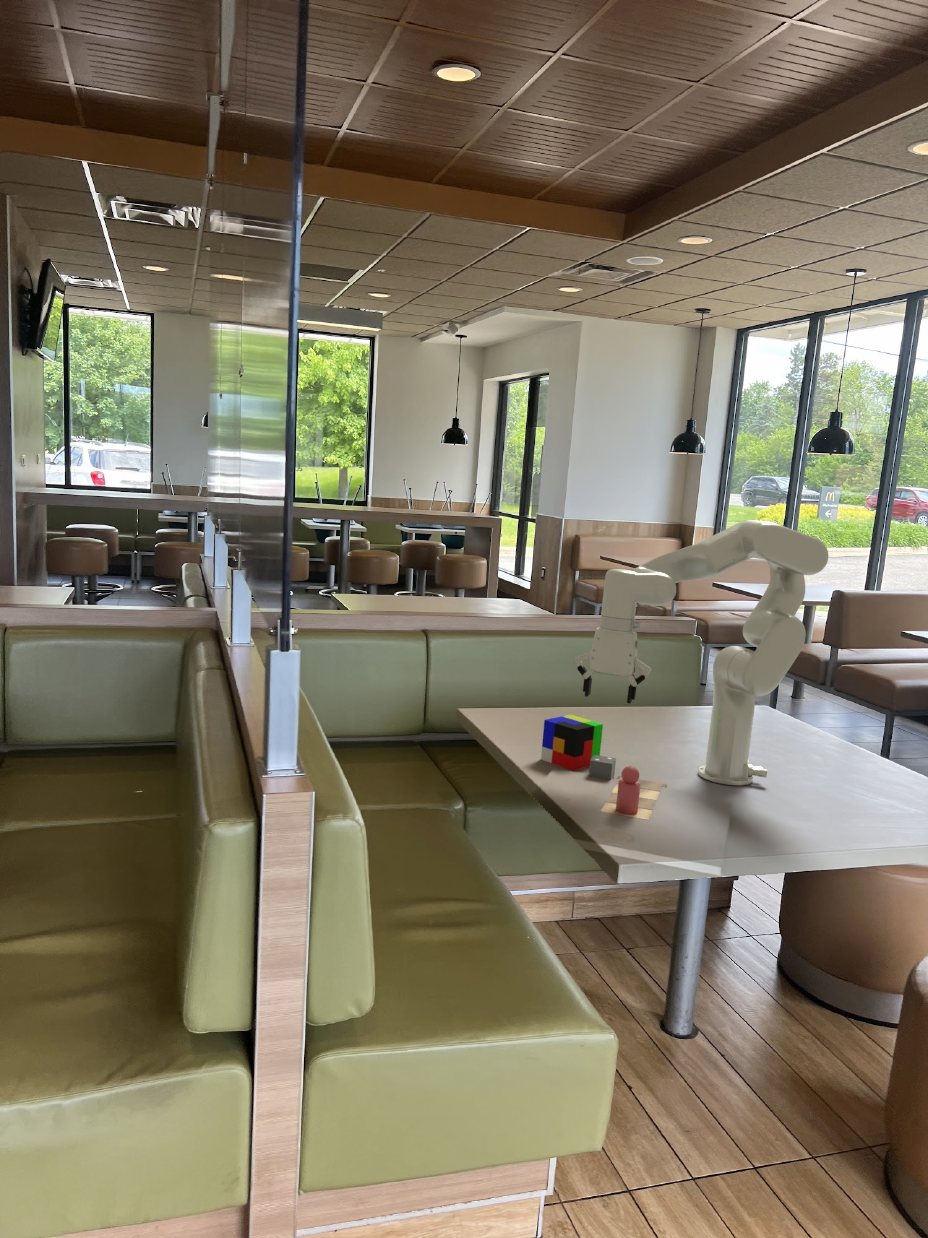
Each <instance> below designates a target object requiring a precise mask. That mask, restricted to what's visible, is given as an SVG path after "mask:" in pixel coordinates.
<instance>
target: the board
mask: <svg viewBox="0 0 928 1238" xmlns="http://www.w3.org/2000/svg"><path fill="white" fill-rule="evenodd" d="M621 779H622V776H621V775H618V776H617V777H616V780H617V782H616V784H615V786H614V787H613V789H612V791H611V793H610V795H609V796H608V797H607V800H606V802H605V803H604V804H603V807H602V808H601V810H600V813H607V814H613V815H616V816H617V815H618V816H624V817H629V818H634V819H639V820H645V821H650V820H649V819H650V818H651V815H652V812H653V810H654V808H655V806H656V802H657V800H658V798H659V795H660V792H661V791H662V789H663V788H667V787H668V786H667V783H663V782H657V781H651V780H646V779H640V778H639V779H638V782H639V783H640V784H641V785H640V794H639V804H638V813H637V814H634V815H626V814H622V813H619V812H617V811H616V802H617V793H618V783H619V780H621Z"/></svg>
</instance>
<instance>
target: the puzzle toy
mask: <svg viewBox="0 0 928 1238" xmlns="http://www.w3.org/2000/svg"><path fill="white" fill-rule="evenodd" d="M543 722H544V723H543V732H542V745H541V756H540V760H541V761H544V762H547V763H549V762H550V764H552V763H553V764H552V765H555V764H556V765H555V766H559V767H561V766H562V768H564V767H565V768H564V769H567V770H570V771H572V772H573V771H577V769H578V770H582V769H585V768H590V760H591V759H592V757H593V756H594V755H599V756H601V747H602V737H603V727H604V724H603V723H601V722H597V721H594V720H590V719H587V718H583V717H580V716H576V715H574V714H568V715H567V714H566V715H562V716H557V717H553V718H548V719H547V718H546V719H544V721H543ZM584 767H585V768H584Z"/></svg>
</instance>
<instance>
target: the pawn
mask: <svg viewBox="0 0 928 1238" xmlns="http://www.w3.org/2000/svg"><path fill="white" fill-rule="evenodd" d="M620 776H622V779H621V780H619V779H618V781H619V783H618V784H617V785H618V793H616V794H617V802H616V803H615V804H616V811H617V812H619V813H622V814H626V815H634V814H637V813H638V804H639V794H640V789H641V788H640V785H641V784H640V783H639V782H638V779H640V772H639V770H638V768H636V767H635V766H633V765H629V766H625V767H624V768H623V769H622V771H621V775H620Z"/></svg>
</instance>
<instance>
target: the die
mask: <svg viewBox="0 0 928 1238" xmlns="http://www.w3.org/2000/svg"><path fill="white" fill-rule="evenodd" d="M616 759H617V758H616V757H611V756H604V755H600V756H599V755H594V756H593V757H592V759H591V760H590V766H589V770H588V771H589V773H588V777H590V778H591V777H592V778H597V779H603V780H610V781H611V780H613V779H615V772H616V763H617V760H616Z"/></svg>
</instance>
